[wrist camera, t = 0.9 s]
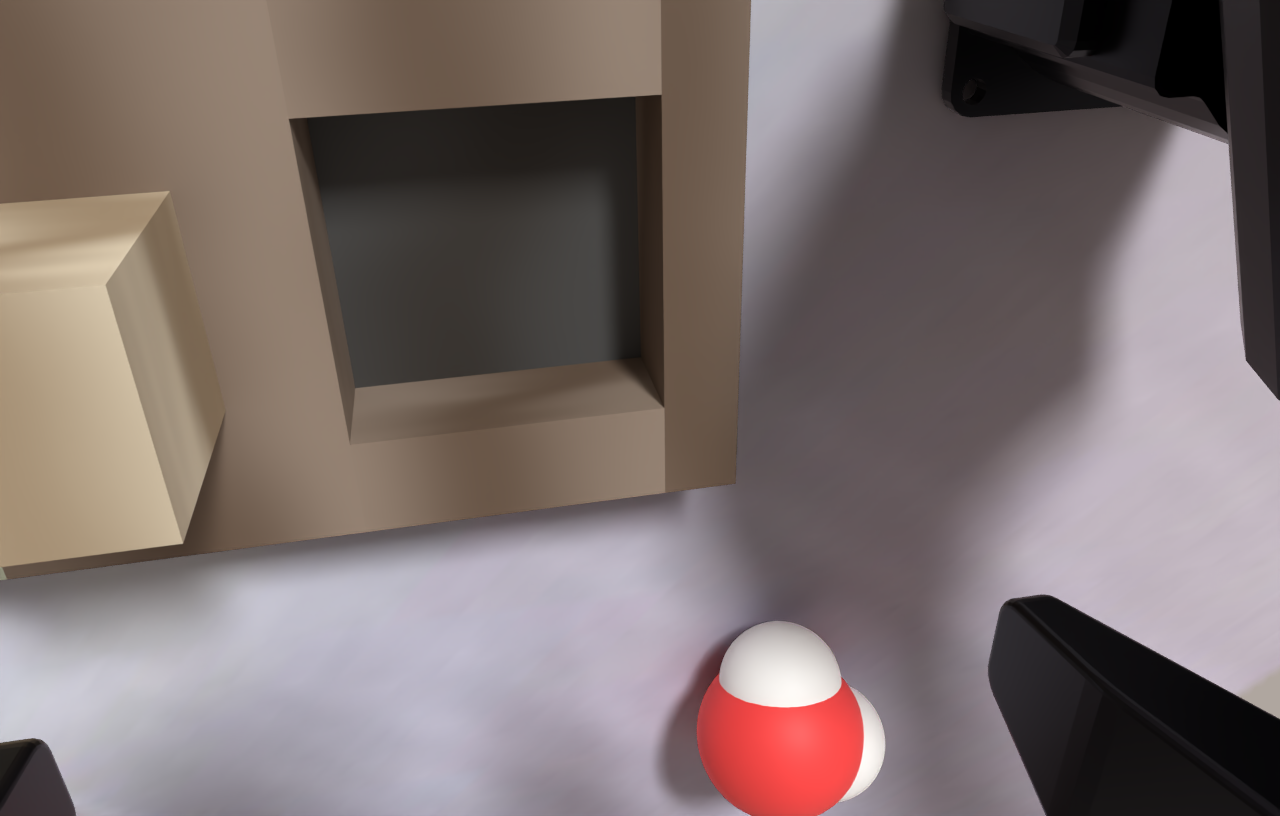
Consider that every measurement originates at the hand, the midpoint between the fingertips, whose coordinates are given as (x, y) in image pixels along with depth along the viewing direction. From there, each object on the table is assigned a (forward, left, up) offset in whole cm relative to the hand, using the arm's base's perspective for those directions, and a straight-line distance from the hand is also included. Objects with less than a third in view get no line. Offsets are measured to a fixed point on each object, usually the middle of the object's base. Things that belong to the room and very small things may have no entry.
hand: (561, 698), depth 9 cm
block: (+7, 0, -10) cm, 12 cm away
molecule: (-7, +13, -13) cm, 20 cm away
